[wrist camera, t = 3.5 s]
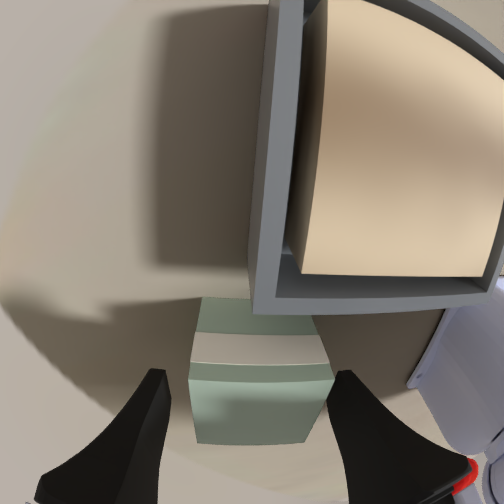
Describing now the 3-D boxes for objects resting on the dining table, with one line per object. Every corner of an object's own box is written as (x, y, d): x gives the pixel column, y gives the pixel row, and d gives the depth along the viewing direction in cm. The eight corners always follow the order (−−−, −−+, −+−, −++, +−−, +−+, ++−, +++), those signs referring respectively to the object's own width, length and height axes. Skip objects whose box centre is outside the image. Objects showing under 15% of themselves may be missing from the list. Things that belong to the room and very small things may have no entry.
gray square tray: (443, 266, 12) (488, 303, 9) (246, 257, 12) (252, 314, 8) (471, 76, 8) (524, 74, 4) (268, 3, 7) (283, -50, 4)
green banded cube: (289, 369, 15) (304, 442, 10) (203, 367, 14) (196, 443, 10) (305, 299, 13) (335, 378, 8) (202, 295, 12) (187, 378, 8)
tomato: (426, 477, 40) (437, 506, 29) (467, 449, 36) (482, 478, 26) (435, 475, 44) (446, 501, 33) (472, 450, 40) (484, 476, 30)
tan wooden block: (444, 249, 11) (481, 276, 8) (284, 237, 10) (301, 273, 8) (466, 87, 8) (510, 86, 5) (303, 25, 7) (327, -10, 4)
